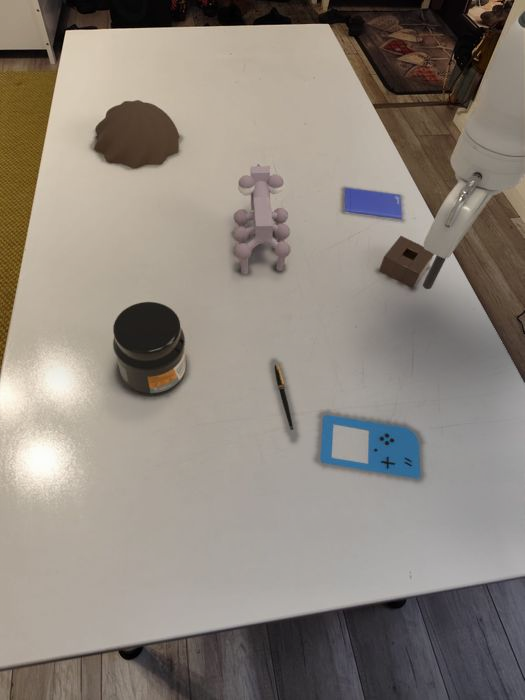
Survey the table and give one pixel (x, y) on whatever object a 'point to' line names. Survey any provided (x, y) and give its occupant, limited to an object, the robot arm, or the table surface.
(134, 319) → the supplement container
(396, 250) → the holder
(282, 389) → the fountain pen
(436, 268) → the stylus
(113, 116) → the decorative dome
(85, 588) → the table surface
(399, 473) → the handheld gaming device
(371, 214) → the hard drive
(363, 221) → the table surface
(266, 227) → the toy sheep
